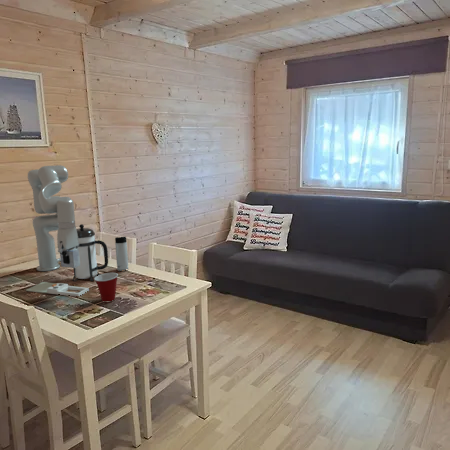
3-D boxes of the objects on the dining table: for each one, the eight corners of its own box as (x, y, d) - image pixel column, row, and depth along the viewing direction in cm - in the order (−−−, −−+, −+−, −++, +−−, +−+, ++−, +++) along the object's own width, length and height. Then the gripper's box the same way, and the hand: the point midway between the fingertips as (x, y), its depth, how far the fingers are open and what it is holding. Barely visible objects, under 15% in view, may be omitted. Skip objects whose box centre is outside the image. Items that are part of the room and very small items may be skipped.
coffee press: (78, 285, 207) (73, 228, 201) (67, 278, 218) (62, 224, 212) (110, 277, 218) (106, 224, 212) (97, 271, 230) (93, 220, 223)
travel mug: (118, 272, 227) (116, 238, 223) (116, 269, 232) (113, 235, 228) (129, 270, 229) (127, 236, 225) (126, 267, 235) (124, 234, 231)
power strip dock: (58, 287, 204) (57, 281, 203) (88, 290, 199) (88, 285, 198) (47, 293, 196) (46, 287, 196) (78, 296, 191) (78, 290, 191)
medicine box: (80, 265, 195) (79, 248, 193) (74, 268, 191) (72, 251, 189) (67, 264, 198) (65, 247, 196) (60, 266, 193) (59, 249, 192)
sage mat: (43, 282, 211) (42, 281, 211) (62, 284, 208) (62, 283, 208) (25, 290, 200) (25, 289, 200) (45, 293, 197) (45, 292, 197)
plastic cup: (100, 295, 192) (98, 271, 190) (122, 295, 192) (121, 271, 189) (92, 304, 182) (90, 279, 179) (116, 304, 181) (114, 279, 179)
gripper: (71, 221, 199) (74, 256, 203) (47, 228, 183) (51, 266, 187) (84, 222, 197) (87, 257, 201) (61, 229, 181) (65, 267, 185)
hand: (70, 261), depth 194 cm, fingers closed on medicine box, 4 cm apart
